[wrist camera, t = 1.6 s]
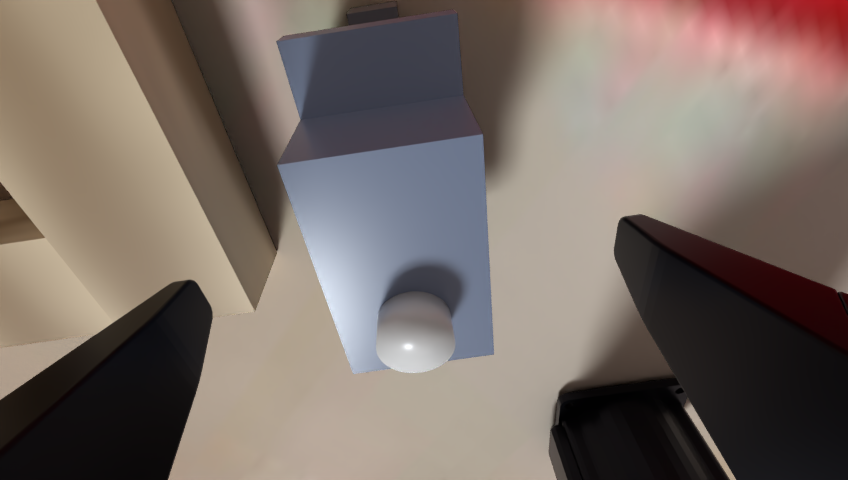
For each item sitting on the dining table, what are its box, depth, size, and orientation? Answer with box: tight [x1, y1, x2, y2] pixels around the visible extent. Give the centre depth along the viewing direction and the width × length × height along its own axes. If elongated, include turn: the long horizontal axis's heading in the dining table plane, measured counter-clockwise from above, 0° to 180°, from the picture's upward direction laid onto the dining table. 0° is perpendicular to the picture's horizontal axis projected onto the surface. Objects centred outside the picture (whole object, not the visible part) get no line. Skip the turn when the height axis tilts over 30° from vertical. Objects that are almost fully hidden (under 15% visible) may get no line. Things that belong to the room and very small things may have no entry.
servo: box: [276, 1, 494, 374], centre depth 11 cm, size 3×8×7 cm, turn 8°
